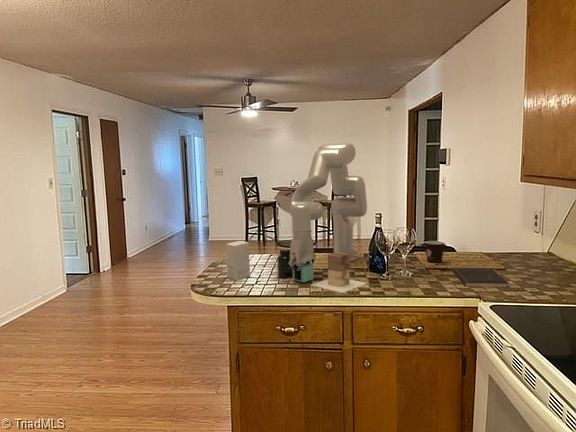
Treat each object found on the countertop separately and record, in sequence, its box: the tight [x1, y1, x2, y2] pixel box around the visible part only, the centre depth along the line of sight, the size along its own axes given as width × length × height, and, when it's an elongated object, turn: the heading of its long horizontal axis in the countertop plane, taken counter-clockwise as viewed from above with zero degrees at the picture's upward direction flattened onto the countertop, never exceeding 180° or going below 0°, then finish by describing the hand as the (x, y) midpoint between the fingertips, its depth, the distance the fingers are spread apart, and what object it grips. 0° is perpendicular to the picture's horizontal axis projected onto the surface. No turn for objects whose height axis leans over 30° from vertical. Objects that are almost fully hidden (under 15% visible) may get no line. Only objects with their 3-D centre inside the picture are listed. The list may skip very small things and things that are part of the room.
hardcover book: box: [452, 267, 510, 288], centre depth 180 cm, size 16×23×2 cm
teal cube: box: [292, 262, 315, 283], centre depth 180 cm, size 6×6×6 cm
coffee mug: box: [422, 240, 445, 264], centre depth 209 cm, size 12×9×10 cm
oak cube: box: [327, 268, 350, 287], centre depth 174 cm, size 6×6×6 cm
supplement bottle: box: [277, 248, 293, 279], centre depth 190 cm, size 7×7×12 cm
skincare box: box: [225, 240, 251, 281], centre depth 191 cm, size 8×7×16 cm
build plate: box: [310, 278, 368, 294], centre depth 174 cm, size 16×16×1 cm
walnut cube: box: [327, 252, 350, 272], centre depth 173 cm, size 6×6×6 cm
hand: (303, 277), depth 180 cm, fingers closed on teal cube, 6 cm apart
